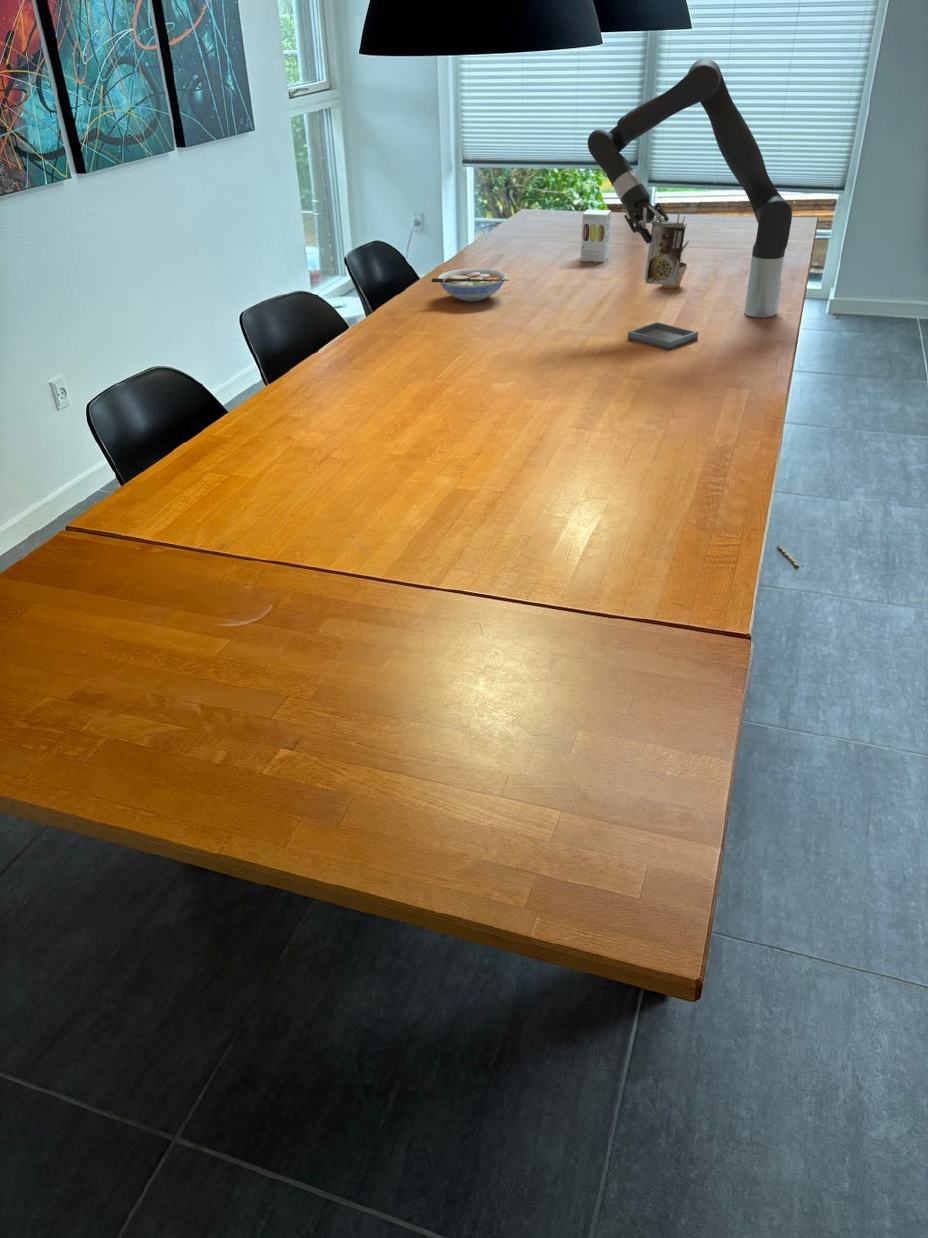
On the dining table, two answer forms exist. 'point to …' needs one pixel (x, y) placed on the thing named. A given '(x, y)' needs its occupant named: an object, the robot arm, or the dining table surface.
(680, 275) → the potted plant
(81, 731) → the dining table surface
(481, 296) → the ramen bowl
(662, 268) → the coffee box
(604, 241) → the supplement box
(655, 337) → the tray
